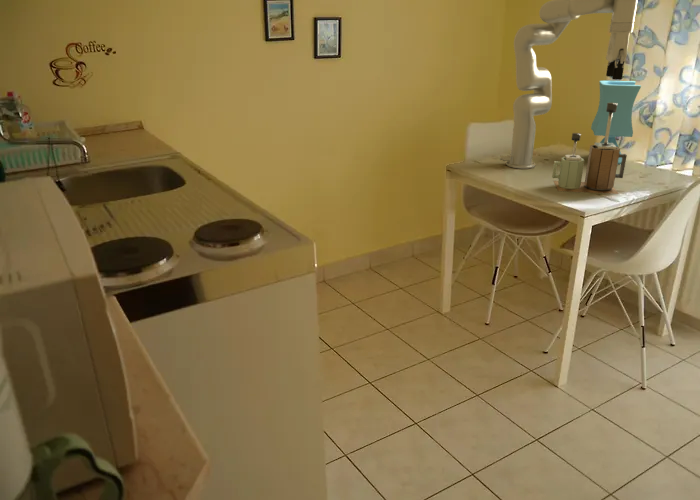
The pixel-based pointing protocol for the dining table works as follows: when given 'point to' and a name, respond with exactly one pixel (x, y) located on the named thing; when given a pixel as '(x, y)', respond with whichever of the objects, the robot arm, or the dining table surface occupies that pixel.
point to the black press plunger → (609, 120)
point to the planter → (622, 118)
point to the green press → (569, 171)
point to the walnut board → (584, 189)
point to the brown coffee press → (603, 167)
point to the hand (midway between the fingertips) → (613, 77)
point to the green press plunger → (575, 141)
